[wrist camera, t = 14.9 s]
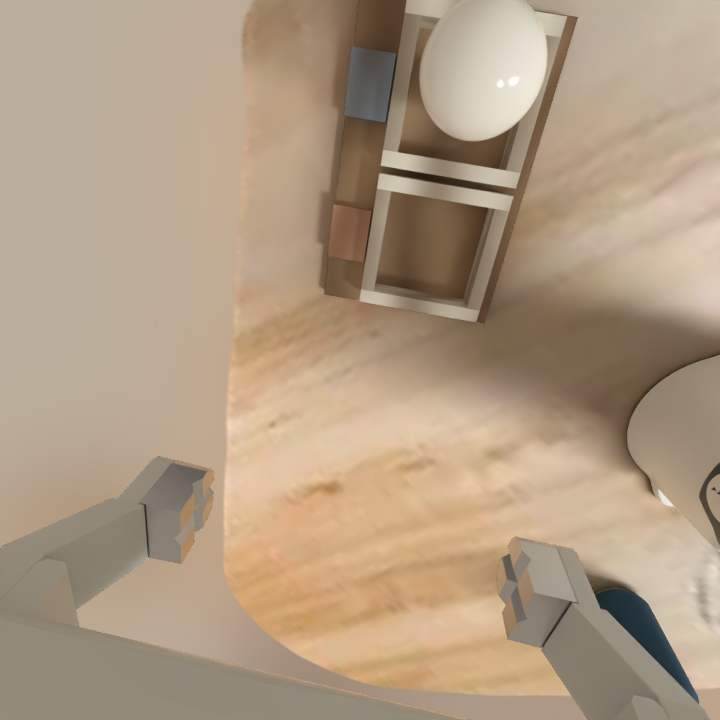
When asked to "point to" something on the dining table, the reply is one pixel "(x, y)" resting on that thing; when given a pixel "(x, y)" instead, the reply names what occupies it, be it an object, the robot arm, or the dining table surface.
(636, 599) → the soda can
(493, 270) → the socket board
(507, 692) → the dining table surface
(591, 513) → the dining table surface
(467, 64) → the lightbulb
